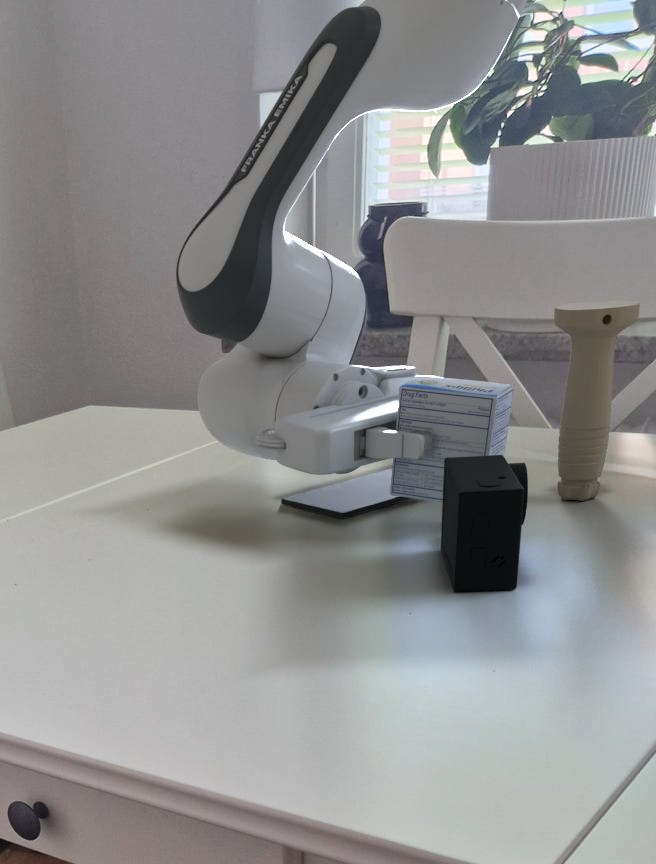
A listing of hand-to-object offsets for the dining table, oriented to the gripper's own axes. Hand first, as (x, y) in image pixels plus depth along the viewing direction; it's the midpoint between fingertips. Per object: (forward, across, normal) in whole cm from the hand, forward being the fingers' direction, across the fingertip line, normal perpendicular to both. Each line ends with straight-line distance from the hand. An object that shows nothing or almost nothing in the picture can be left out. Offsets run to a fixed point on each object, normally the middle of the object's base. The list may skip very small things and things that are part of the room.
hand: (457, 438), depth 91 cm
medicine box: (-1, 0, +5) cm, 5 cm away
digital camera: (+9, -7, +7) cm, 14 cm away
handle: (+2, +13, +7) cm, 15 cm away
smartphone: (-13, +3, +7) cm, 15 cm away
